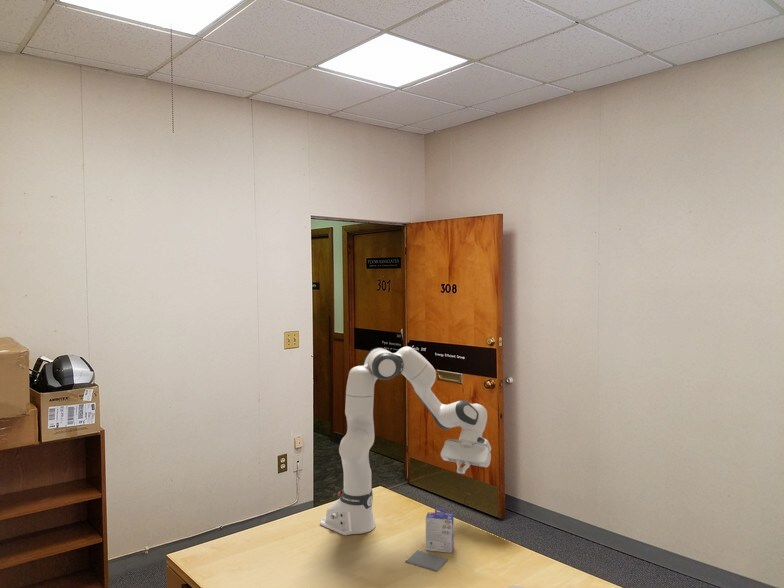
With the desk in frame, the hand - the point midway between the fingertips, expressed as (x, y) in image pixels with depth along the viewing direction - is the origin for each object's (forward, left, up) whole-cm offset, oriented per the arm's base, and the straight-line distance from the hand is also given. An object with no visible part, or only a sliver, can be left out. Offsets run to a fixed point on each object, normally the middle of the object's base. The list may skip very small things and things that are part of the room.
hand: (460, 472), depth 216 cm
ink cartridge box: (0, -19, -22) cm, 29 cm away
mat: (0, -29, -22) cm, 37 cm away
